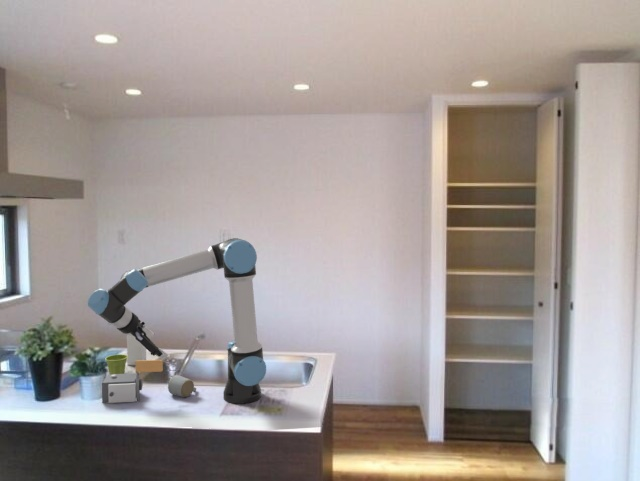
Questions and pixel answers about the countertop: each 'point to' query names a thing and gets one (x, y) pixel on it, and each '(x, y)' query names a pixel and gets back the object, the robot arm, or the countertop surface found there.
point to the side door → (132, 389)
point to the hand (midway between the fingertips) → (158, 346)
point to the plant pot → (116, 363)
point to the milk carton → (134, 350)
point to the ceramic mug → (181, 386)
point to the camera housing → (118, 380)
